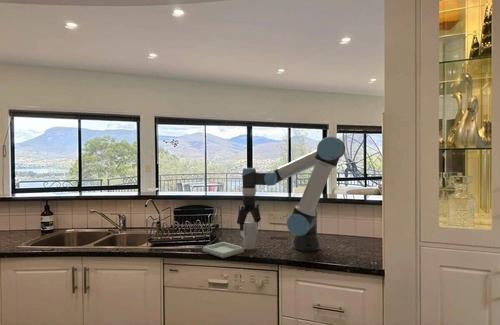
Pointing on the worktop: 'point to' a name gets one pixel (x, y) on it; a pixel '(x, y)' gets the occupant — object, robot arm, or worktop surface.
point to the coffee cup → (250, 234)
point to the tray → (223, 249)
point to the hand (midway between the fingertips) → (249, 234)
